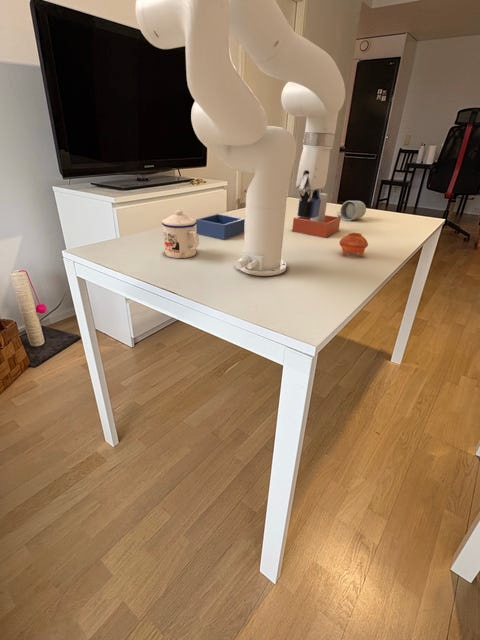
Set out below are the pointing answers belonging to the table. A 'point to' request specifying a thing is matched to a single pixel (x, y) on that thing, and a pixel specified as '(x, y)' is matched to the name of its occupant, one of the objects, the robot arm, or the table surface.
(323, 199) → the beverage can
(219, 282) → the table surface
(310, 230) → the terracotta bin
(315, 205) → the blue block
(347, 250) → the pot
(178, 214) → the teacup with lid
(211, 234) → the blue bin
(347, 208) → the ceramic mug
